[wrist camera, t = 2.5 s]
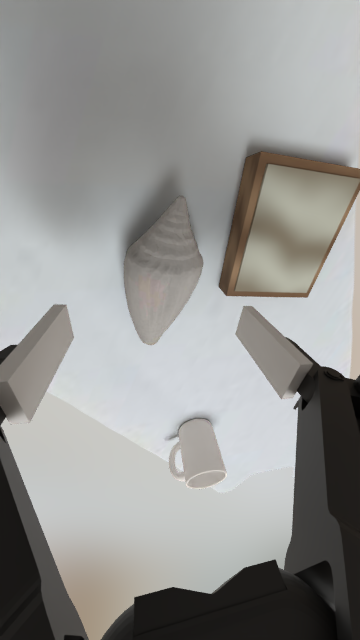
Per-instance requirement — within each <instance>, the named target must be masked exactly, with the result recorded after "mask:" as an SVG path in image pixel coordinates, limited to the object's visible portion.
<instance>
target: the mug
mask: <svg viewBox="0 0 360 640" xmlns="http://www.w3.org/2000/svg"><path fill="white" fill-rule="evenodd" d="M179 449H181V455H182V462H183V468H184V472H178V471H177V469H176V467H175V455H176V453H177V451H178V450H179ZM169 468H170V471H171V474H172V475H173V477H174V478H175V479H176V480H178V481H186V486H187V487H188V488H192V489H201V488H207V487H210V486H213V485H216V484H218V483H220V482H221V481H223V480H224V479H225V478H226V476H227V472H226V469H225V466H224V463H223V459H222V456H221V453H220V449H219V446H218V443H217V440H216V436H215V433H214V430H213V427H212V425H211V423H210V422H209V421H208V420H206V419H193V420H190V421H187V422H186V423H184V424H183V425H182V426H181V427H180V429H179V442H178V443H176V444H175V445H174V446H173V448H172V450H171V452H170V456H169Z"/></svg>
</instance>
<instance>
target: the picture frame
mask: <svg viewBox="0 0 360 640" xmlns="http://www.w3.org/2000/svg"><path fill="white" fill-rule="evenodd" d="M359 191H360V169H358V168H352V167H346V166H341V165H335V164H329V163H324V162H318V161H312V160H307V159H301V158H296V157H290V156H284V155H279V154H273V153H267V152H262V151H261V152H259V153H256V154H254V155H251V156H249V157H247V158H246V161H245V165H244V170H243V175H242V179H241V184H240V189H239V193H238V198H237V203H236V208H235V212H234V217H233V222H232V226H231V231H230V236H229V241H228V245H227V250H226V255H225V259H224V264H223V269H222V273H221V278H220V283H219V288H220V289H221V290H222V291H223V292H224V294H225V295H226V296H256V297H308V295H309V293H310V291H311V289H312V287H313V285H314V283H315V281H316V279H317V277H318V275H319V273H320V271H321V269H322V267H323V264H324V262H325V260H326V258H327V256H328V254H329V252H330V250H331V248H332V246H333V244H334V242H335V240H336V238H337V236H338V234H339V232H340V230H341V227H342V225H343V223H344V221H345V219H346V217H347V215H348V213H349V211H350V209H351V207H352V205H353V203H354V201H355V199H356V197H357V195H358V192H359Z"/></svg>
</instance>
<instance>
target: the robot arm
mask: <svg viewBox="0 0 360 640" xmlns="http://www.w3.org/2000/svg"><path fill="white" fill-rule="evenodd" d="M236 336H237V337H238V338H239V340H240V341H241V343H242V344H243V346H244V347H245V348H246V350H247V351H248V353H249V354H250V355H251V357H252V358H253V360H254V361H255V363H256V364H257V365H258V367H259V368H260V370H261V371H262V372H263V374H264V375H265V377H266V378H267V380H268V381H269V382H270V384H271V385H272V387H273V388H274V389H275V391H276V392H277V394H278V395H279V397H280V398H281V399H289V398H293V397H294V395H295V393H296V392H298V393H299V394H300V395H301V397H300V398H299V400H298V401H297V403H296V405H295V406H294V408H293V409H295V410H296V408H297V407H298V423H297V443H296V464H295V484H294V505H293V525H292V537H291V542H290V544H289V547H288V550H287V553H286V558H285V566H284V570H283V569H280V568H278V565H277V562H276V560H272V561H268V562H264V563H261V564H257V565H253V566H249V567H246V568H244V569H242V570H241V571H240V572H238V573H237V574H235V575H234V576H233V577H231V578H230V579H229V580H228V581H226V582H225V583H224V584H222V585H221V586H220V587H219V588H218V589H217V590H215V591H214V592H213V593H212V594H208V593H202V592H197V591H191V590H186V589H180V588H175V587H172V588H168V589H164V590H160V591H157V592H153V593H149V594H145V595H142V596H138V597H135V598H134V604H133V605H132V606H131V607H129V608H128V609H127V610H126V611H124V612H123V613H122V614H121V615H120V616H119V617H118V618H117V619H116V620H115V622H114V623H113V624H112V625H111V627H110V628H109V629H108V630H107V632H106V633H105V634H104V636H103V637H102V639H101V640H360V375H359V376H358V378H357V379H356V380H353V379H348V378H345V377H344V376H343V375H342V374H341V373H339V372H338V371H336V370H334V369H332V368H329V367H321V366H320V365H319V364H318V363H317V362H315V361H314V360H313V359H312V358H311V357H310V356H309V355H308V354H307V353H306V352H304V351H303V350H302V349H301V348H300V347H299V346H298V345H297V344H296V343H295V342H293V341H292V340H290V339H288V338H287V337H284V336H283V335H282V334H281V333H280V332H279V331H278V330H277V329H276V328H275V327H274V326H273V325H272V324H270V323H269V322H268V321H267V320H266V319H265V318H264V317H263V316H262V315H261V314H260V313H259V312H258V311H257V310H256V309H255V308H253V307H252V306H243V310H242V313H241V317H240V320H239V324H238V327H237V330H236ZM73 338H74V335H73V331H72V327H71V323H70V318H69V314H68V310H67V306H66V305H53V306H52V307H51V308H50V309H49V311H48V312H47V313H46V314H45V315H44V316H43V317H42V318H41V320H40V321H39V322H38V323H37V324H36V325H35V326H34V327H33V329H32V330H31V331H30V332H29V333H28V334H27V335H26V336H25V338H24V339H23V340H22V341H21V342H20V343H19V344H18V345H10V346H8V347H7V348H5V349H3V350H2V351H0V425H1V423H2V422H3V420H4V419H5V418H7V420H8V421H9V423H10V424H11V425H12V424H22V423H29V422H30V421H31V419H32V417H33V415H34V414H35V412H36V410H37V407H38V406H39V404H40V402H41V400H42V398H43V396H44V394H45V392H46V391H47V389H48V387H49V385H50V383H51V381H52V379H53V377H54V375H55V373H56V371H57V369H58V367H59V365H60V364H61V362H62V360H63V358H64V356H65V354H66V352H67V350H68V348H69V346H70V344H71V342H72V340H73ZM0 640H89V639H88V637H87V634H86V632H85V629H84V627H83V624H82V622H81V619H80V617H79V615H78V613H77V611H76V608H75V606H74V605H73V603H72V601H71V599H70V598H69V596H68V594H67V591H66V589H65V587H64V584H63V581H62V579H61V577H60V574H59V571H58V569H57V566H56V564H55V561H54V558H53V556H52V553H51V551H50V548H49V546H48V543H47V541H46V538H45V536H44V533H43V531H42V528H41V525H40V523H39V521H38V518H37V515H36V513H35V510H34V508H33V505H32V503H31V500H30V498H29V495H28V493H27V490H26V487H25V485H24V482H23V480H22V477H21V475H20V472H19V469H18V467H17V465H16V462H15V459H14V457H13V454H12V452H11V449H10V447H9V444H8V441H7V439H6V436H5V434H4V431H3V429H2V428H1V426H0Z"/></svg>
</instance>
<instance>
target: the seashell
mask: <svg viewBox="0 0 360 640" xmlns="http://www.w3.org/2000/svg"><path fill="white" fill-rule="evenodd" d="M202 267H203V259H202V256H201V254H200V252H199V249H198V246H197V243H196V241H195V239H194V235H193V232H192V230H191V225H190V222H189V214H188V211H187V205H186V199H185V197H184V196H179V197H177V199H176V200H175V201H174V202H173V203H172V204H171V205H170V206H169V208H168V209H167V210H166V211H165V212H164V213H163V214H162V216H161V217H160V218H159V219H158V220H157V222H156V223H155V224H154V225H152V226H151V227H150V228H149V229H148V231H147V232H146V233H145V234H143V235H142V236H141V237H140V238H139V239H138V240H137V241H136V242H135V243H133V244H132V245H131V246H130V247H129V248H128V250H127V253H126V257H125V261H124V284H125V292H126V299H127V304H128V308H129V312H130V315H131V318H132V321H133V324H134V326H135V329H136V331H137V334H138V336H139V337H140V339H141V340H142V342H143V343H146V344H148V345H154V344H155V343H157V341H158V340H159V339H160V337H161V336H162V334H163V333H164V332H165V331H166V330H167V329H168V327H169V326H170V325H171V324H172V322H173V321H174V320H175V318H176V317H177V316H178V315H179V313H180V312H181V310H182V309H183V308H184V306H185V304H186V303H187V302H188V300H189V298H190V296H191V294H192V292H193V291H194V289H195V287H196V285H197V283H198V280H199V278H200V275H201V272H202Z"/></svg>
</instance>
